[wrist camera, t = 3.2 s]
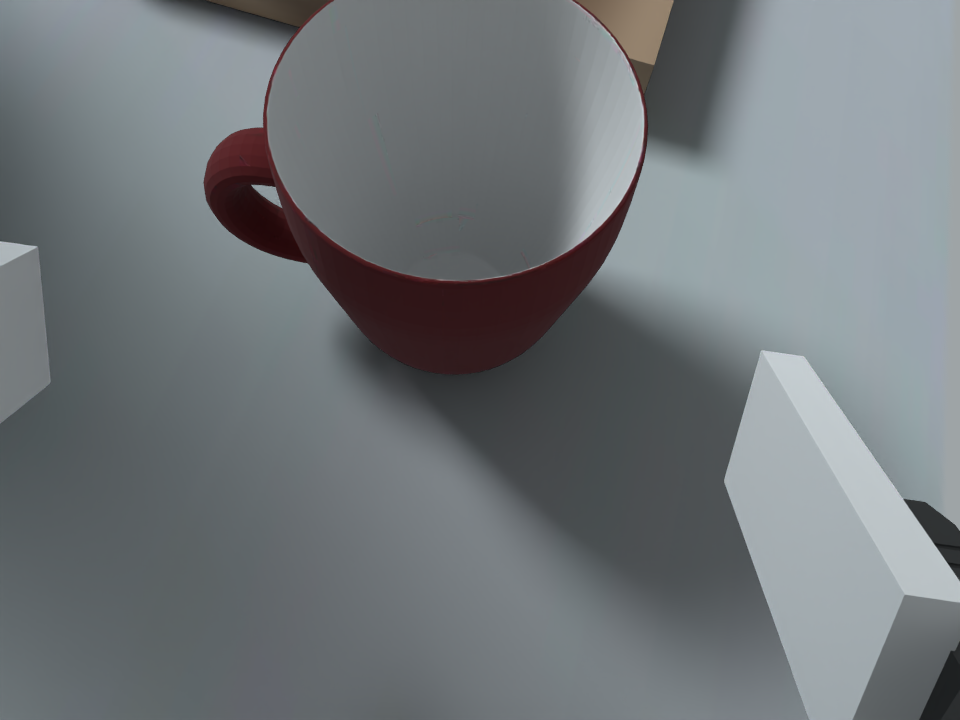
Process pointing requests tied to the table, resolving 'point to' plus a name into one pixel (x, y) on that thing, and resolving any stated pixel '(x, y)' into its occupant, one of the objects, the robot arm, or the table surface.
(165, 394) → the table surface
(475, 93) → the mug
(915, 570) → the robot arm
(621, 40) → the plinth
